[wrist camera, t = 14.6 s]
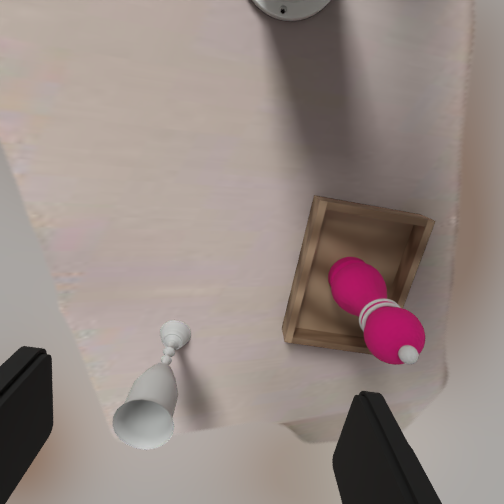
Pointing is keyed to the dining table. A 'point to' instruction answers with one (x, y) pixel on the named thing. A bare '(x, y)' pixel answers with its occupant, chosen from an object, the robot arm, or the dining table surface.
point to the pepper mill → (376, 312)
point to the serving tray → (350, 245)
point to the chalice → (153, 396)
